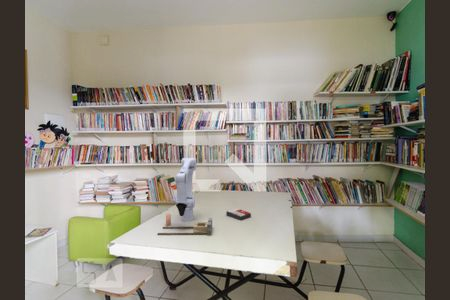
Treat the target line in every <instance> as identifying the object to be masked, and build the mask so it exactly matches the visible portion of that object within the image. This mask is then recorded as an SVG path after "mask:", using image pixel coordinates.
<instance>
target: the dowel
mask: <svg viewBox="0 0 450 300" xmlns="http://www.w3.org/2000/svg"><path fill="white" fill-rule="evenodd" d="M165 227H172V215H171V213H167V214H166V215H165Z"/></svg>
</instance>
